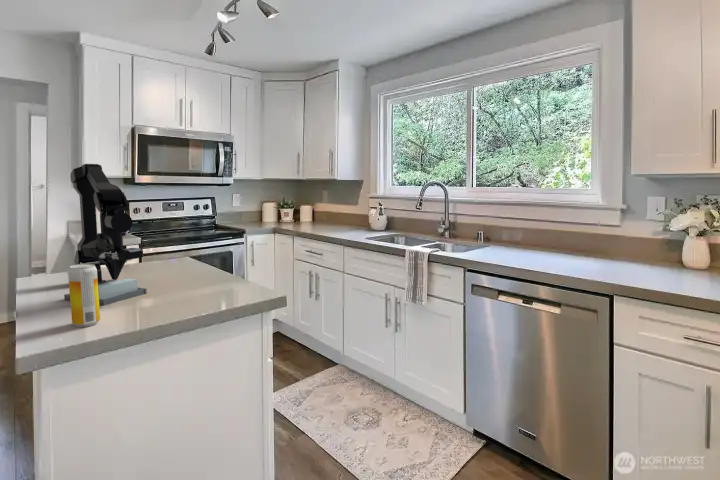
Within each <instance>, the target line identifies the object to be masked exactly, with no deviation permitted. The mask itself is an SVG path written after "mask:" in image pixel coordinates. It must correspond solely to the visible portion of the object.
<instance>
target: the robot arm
mask: <svg viewBox="0 0 720 480" xmlns="http://www.w3.org/2000/svg"><path fill="white" fill-rule="evenodd" d="M69 178H70V182H71V183H72V186H73V187H72V188H73V189H74V191H76V193H77V194H78V195H79V196H78V197H79V206H80V207H79V209H80V220H81V221H80V223H81V224H80V227H81V236H82V237H81V238H80V240H79V242H78V243H77V245H76V246H77V250H76V251H75V255H74V259H73V262H74V263H73V264H74V265H79V264H94V265H95V267H96V269H97V278H98V282H103V281H107V280H105V279H103V275H102V274H103V273H102V267H101V266H105V267H106V269H107V271H108V273H109V276H110V279H111V280H116V281H118V279H119V276H120V275H121V272H122V269H123V268H124V266H125V264H126V263H127V261H129V260H135V259H141V258H144V251H143V250H142V248H140V247H129V248H127V245H126V244H124V238H123V237H125V236H127V232H128V231H129V230H130V229H131V228H132V226H133V219H132V216H130V215H129V214H128V213H126V211H127V212H128V211H129V210H130V203H129V201H128V199H127V196H126V195H125V192H124V191H123V190H122V189H121V188H120V187H119V186H118V185H116V184H112V183H111V182H110V180H109V178H108V176H106V174H105V172H104V171H103V167H102V165H101V164H98V163H83V164H82V165H81V166H79V167H75V168H73V169H72V171H71V173H70V177H69ZM97 212H99V223H100V224H99V227H100V233H98V226H97Z"/></svg>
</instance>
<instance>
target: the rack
mask: <svg viewBox="0 0 720 480" xmlns="http://www.w3.org/2000/svg"><path fill="white" fill-rule="evenodd" d="M113 281H117V280H112V279H108V280H106V281H103V282H98V284H103V283H108V282H113ZM147 291H148V290H147V288H145V287H138V290H136V291H133V292H129V293H125V294H122V295H118V296H114V297H110V298H107V299H99V306H103V307H104V306H107V305H110V304H114V303H118V302H120V301H124V300H128V299H131V298H134V297H138V296H141V295H145V294H148V293H147ZM63 296H64V300H65V301H70V293H66V294H63Z"/></svg>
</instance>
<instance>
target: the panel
mask: <svg viewBox="0 0 720 480" xmlns="http://www.w3.org/2000/svg"><path fill="white" fill-rule="evenodd" d="M138 288H139V287H138V280H137V279H135V278H125V279H119V280H118V279H117V280H116V281H113V282H108V283H103V284H98V293H99V299H107V298H110V297H114V296H118V295H122V294H125V293H129V292H133V291H136V290H138Z"/></svg>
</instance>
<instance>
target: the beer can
mask: <svg viewBox="0 0 720 480" xmlns="http://www.w3.org/2000/svg"><path fill="white" fill-rule="evenodd" d="M67 274H68V275H67V276H68V288H69V289H68V290H69V294H70V300H69V301H70V310H71V311H70V312H71V313H70V314H71V324H72V325H74V327H76V328H87V327H91V326H94V325H95V326H96V325H98V323H99V322H100V320H101V311H100V305H99V293H98V278H97V269H96V267H95V265H94V264H83V263H80V264H79V265H75V264H73V265H70V266H69V269H68V271H67Z"/></svg>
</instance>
